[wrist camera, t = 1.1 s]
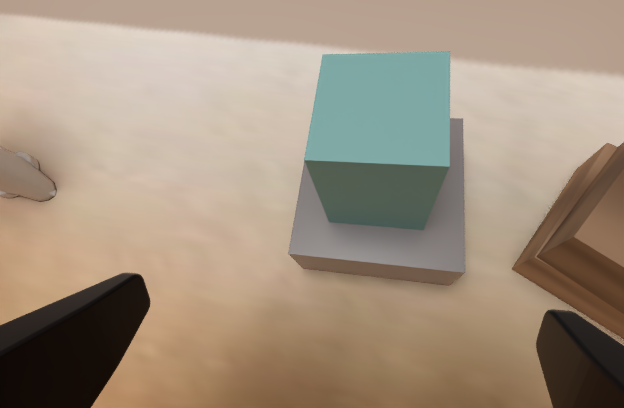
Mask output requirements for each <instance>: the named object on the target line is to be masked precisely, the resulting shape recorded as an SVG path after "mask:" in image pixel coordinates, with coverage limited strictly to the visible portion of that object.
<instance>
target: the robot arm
mask: <svg viewBox="0 0 624 408" xmlns="http://www.w3.org/2000/svg"><path fill="white" fill-rule="evenodd" d="M149 307H150V297H149V294H148V291H147V288H146V285H145V282H144V279H143V277H142V276H141V275H140V274H136V273H122V274H119V275H117V276H115V277H112V278H110V279H108V280H105V281H103V282H101V283H98V284H96V285H94V286H91V287H89V288H87V289H84V290H82V291H80V292H77V293H75V294H73V295H70V296H68V297H66V298H63V299H61V300H59V301H56V302H54V303H52V304H49V305H47V306H45V307H42V308H40V309H37V310H35V311H33V312H30V313H28V314H26V315H23V316H21V317H19V318H16V319H14V320H12V321H9V322H7V323H5V324H2V325H0V408H91V406H92V405H93V403H94V402H95V400H96V399H97V397H98V396H99V394H100V393H101V391H102V390H103V388H104V387H105V385H106V384H107V382H108V381H109V379H110V378H111V376H112V375H113V373H114V371H115V370H116V368H117V367H118V365H119V363H120V361H121V360H122V358H123V356H124V354H125V352H126V351H127V349H128V347H129V345H130V343H131V341H132V339H133V338H134V336H135V334H136V332H137V330H138V328H139V327H140V325H141V323H142V321H143V319H144V317H145V316H146V314H147V312H148V310H149ZM536 348H537V353H538V357H539V360H540V364H541V367H542V371H543V374H544V378H545V381H546V385H547V388H548V391H549V395H550V398H551V402H552V405H553V408H624V346H623V345H622V344H620V343H619V342H617V341H616V340H614V339H613V338H611V337H610V336H608V335H607V334H605V333H604V332H602V331H601V330H599V329H598V328H597V327H595V326H594V325H592V324H591V323H589V322H588V321H586V320H585V319H583V318H582V317H580V316H579V315H577V314H576V313H574V312H571V311H564V310H548V311H547V312H546V313H545V315H544V317H543V321H542V324H541V327H540V330H539V334H538V337H537V341H536Z"/></svg>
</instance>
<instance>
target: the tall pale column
mask: <svg viewBox="0 0 624 408" xmlns="http://www.w3.org/2000/svg"><path fill="white" fill-rule="evenodd" d="M55 193H56V187H55V183H54V182H53V181H51V180H50V179H49V178H48V177H47V176H45V175H44V174H43V173H42V172H41V171H39V164H38V161H37V160H36V159H35V158H34V157H32V156H30V155H28V154H26V153H23V152H16V153H12V152H10V151H8V150H6V149H4V148H2V147H0V196H2V197H5V198H14V197H16V196H19V195H20V196H23V197H27V198H30V199H33V200H37V201H40V202H41V201H46V200H50V199H51V198H53V197H54V196H55Z"/></svg>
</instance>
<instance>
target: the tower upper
mask: <svg viewBox="0 0 624 408" xmlns="http://www.w3.org/2000/svg"><path fill="white" fill-rule="evenodd" d="M537 257H538V258H539V259H541V260H542V261H544V262H545V263H547V264H548V265H550V266H551V267H553V268H554V269H556V270H557V271H559V272H560V273H562V274H564V275H565V276H567V277H568V278H570V279H571V280H573V281H574V282H576V283H577V284H579V285H580V286H582V287H583V288H585V289H586V290H588V291H589V292H591V293H592V294H594V295H595V296H597V297H598V298H600V299H601V300H603V301H604V302H606V303H608V304H609V305H611V306H612V307H614V308H615V309H617V310H618V311H620V312H621V313H623V314H624V143H622V144H621V145H620V146H619V147H618V148H617V149H616V151H615V152H614V153H613V155H612V156H611V157H610V159H609V160H608V161H607V163H606V164H605V165H604V167H603V168H602V169H601V171H600V172H599V173H598V175H597V176H596V177H595V179H594V180H593V182H592V183H591V184H590V186H589V187H588V188H587V190H586V191H585V192H584V194H583V195H582V196H581V198H580V199H579V200H578V202H577V203H576V204H575V206H574V207H573V208H572V210H571V211H570V212H569V214H568V215H567V216H566V218H565V219H564V220H563V222H562V223H561V225H560V226H559V227H558V229H557V230H556V231H555V233H554V234H553V235H552V237H551V238H550V239H549V241H548V242H547V243H546V245H545V246H544V247H543V249H542V250H541V251H540V253H539V254H538V255H537Z"/></svg>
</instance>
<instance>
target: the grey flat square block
mask: <svg viewBox="0 0 624 408" xmlns="http://www.w3.org/2000/svg"><path fill="white" fill-rule="evenodd" d="M288 254H289V255H290V256H291V257H292V258H293V259H294V260H295V261H296V262H297V263H298V264H299V265H300V266H301V267H302V268H305V269H314V270H322V271H331V272H339V273H348V274H356V275H365V276H373V277H382V278H390V279H399V280H407V281H416V282H424V283H433V284H441V285H450V284H451V283H453V282H454V281H455V280H456V279H458V278H459V277H460V276H462V275H463V274H464V273H465V238H464V156H463V119H453V118H450V167H449V169H448V172H447V174H446V177H445V179H444V182H443V184H442V186H441V189H440V191H439V194H438V196H437V198H436V201H435V203H434V206H433V208H432V211H431V213H430V215H429V218H428V220H427V223H426V225H425V227H424V230H415V229H403V228H392V227H380V226H368V225H356V224H345V223H333V222H329V221H328V218H327V216H326V213H325V211H324V208H323V206H322V203H321V201H320V198H319V196H318V193H317V191H316V188H315V186H314V183H313V181H312V178H311V176H310V173H309V171H308V168H307V166H306V163H305V161H304V167H303V173H302V178H301V184H300V190H299V195H298V201H297V207H296V213H295V218H294V224H293V230H292V235H291V241H290V247H289V252H288Z"/></svg>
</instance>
